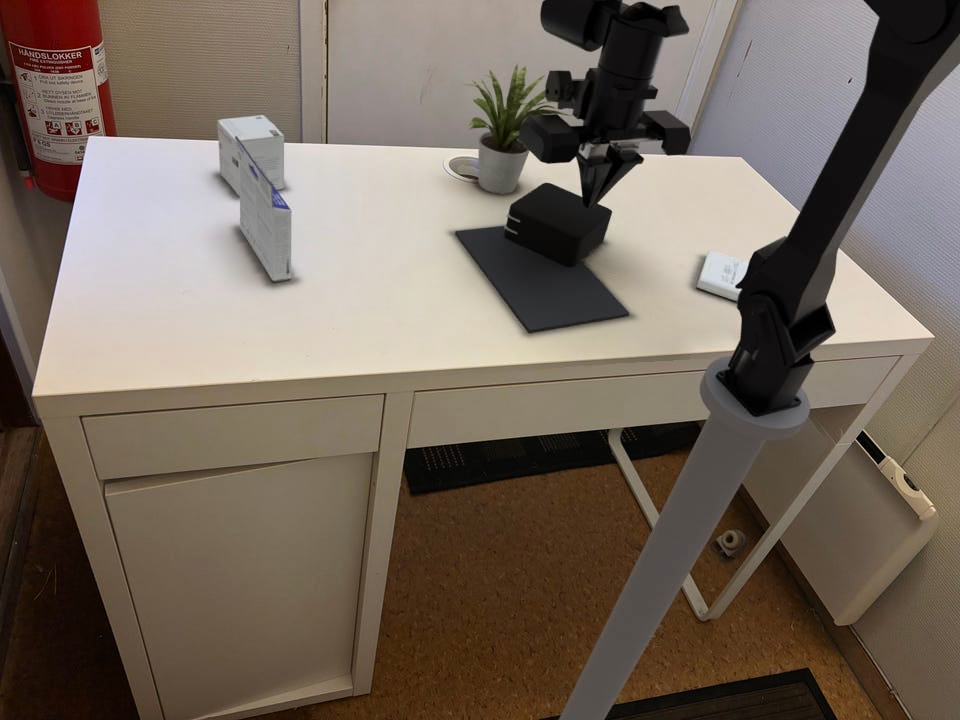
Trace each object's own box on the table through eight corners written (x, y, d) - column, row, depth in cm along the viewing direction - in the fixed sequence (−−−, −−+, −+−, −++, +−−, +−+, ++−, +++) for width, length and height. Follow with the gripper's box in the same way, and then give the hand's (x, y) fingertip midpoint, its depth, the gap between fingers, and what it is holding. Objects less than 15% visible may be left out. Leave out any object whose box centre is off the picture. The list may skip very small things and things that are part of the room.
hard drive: (797, 324, 89) (695, 288, 92) (800, 290, 95) (705, 258, 98) (802, 313, 88) (700, 277, 91) (806, 279, 94) (709, 247, 97)
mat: (628, 315, 85) (629, 313, 85) (528, 333, 80) (529, 330, 80) (545, 224, 98) (546, 221, 98) (454, 233, 93) (455, 230, 93)
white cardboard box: (219, 175, 95) (215, 119, 90) (265, 167, 98) (263, 113, 93) (239, 197, 91) (236, 140, 87) (286, 189, 95) (285, 134, 90)
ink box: (294, 280, 80) (294, 182, 73) (272, 284, 79) (270, 185, 72) (259, 225, 87) (255, 131, 80) (239, 228, 86) (233, 133, 79)
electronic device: (615, 210, 94) (546, 180, 98) (580, 239, 87) (507, 206, 91) (606, 239, 97) (539, 209, 100) (571, 269, 90) (501, 236, 93)
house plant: (483, 223, 96) (506, 98, 85) (421, 174, 103) (435, 53, 93) (563, 201, 104) (593, 84, 93) (500, 157, 111) (521, 44, 101)
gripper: (655, 40, 85) (617, 167, 94) (508, 38, 77) (484, 177, 87) (716, 79, 77) (668, 213, 87) (561, 82, 70) (528, 228, 80)
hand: (587, 206), depth 85 cm, fingers closed
